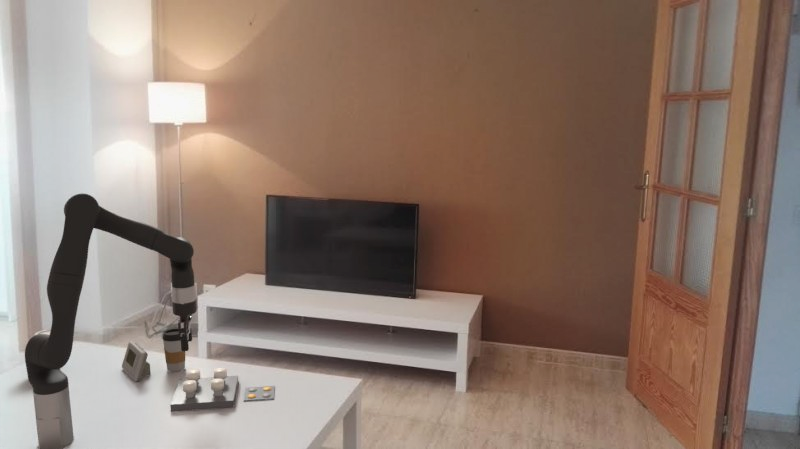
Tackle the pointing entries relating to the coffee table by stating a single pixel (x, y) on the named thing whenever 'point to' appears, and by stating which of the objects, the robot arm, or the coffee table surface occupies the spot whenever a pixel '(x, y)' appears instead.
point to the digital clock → (136, 362)
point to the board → (205, 395)
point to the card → (259, 393)
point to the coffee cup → (173, 351)
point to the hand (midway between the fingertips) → (186, 345)
